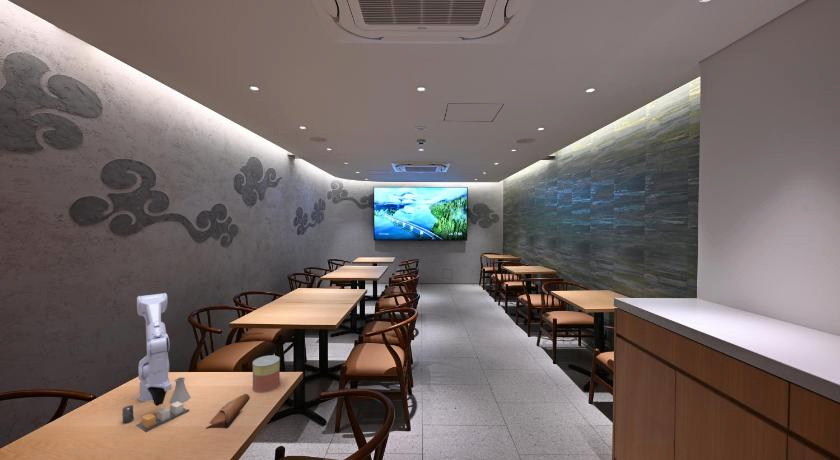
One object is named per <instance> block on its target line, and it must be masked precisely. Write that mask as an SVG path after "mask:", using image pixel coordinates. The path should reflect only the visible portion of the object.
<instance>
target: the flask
mask: <svg viewBox="0 0 840 460" xmlns="http://www.w3.org/2000/svg"><path fill="white" fill-rule="evenodd" d="M185 379H186V377H184V376H180V377H178V378H177V377H176V378H175V379H174V382H175V386H174V390H173V393H172V395H171V398H170V400H169V404H173V403H175V402H177V401H178V402H180V403H182V404H184V403H186V402H188V401H189V400H190V399H191V396H190V393H189V391H188V389H187V388H186V385H185Z"/></svg>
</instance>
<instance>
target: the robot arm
mask: <svg viewBox="0 0 840 460" xmlns="http://www.w3.org/2000/svg"><path fill="white" fill-rule="evenodd" d="M167 307H168V294H167V293H166V292H163V293H156V294H148V295H138V296H136V309H137V311H136V312H137V314H138V316H140V317H143V318H144V321H145V336H146V355H145V356H144V357H143V358H142V359H140V360H139V362H138V367H137V369H138V371H137V372H138V379H139V396H138V397H137V399H136V400H138V401H140V402H141V403H144V402H145V401H146V402H151V401H153V403H154V405H155V406H156V407H159V406H161V405H163V404H164V401H165V397H166V395H167V393H168V391H171V390H172V389H173V387H172V383H171V381H170V378H169V372H170V361H169V351H170V345H171V344H170V338H169V335H168V333H167V330H166V324H165V323H164V322H163V321H162V318H161V317H162V313H163V314H164V313H165V312H166V310H167Z"/></svg>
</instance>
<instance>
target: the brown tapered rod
mask: <svg viewBox="0 0 840 460" xmlns="http://www.w3.org/2000/svg"><path fill="white" fill-rule="evenodd" d="M250 399H251V398H250V395H249V394H248V393H243V394H242V395H239V396H238V397H235V398H234V399H233V400H231V401H229V402H227V403H226V404H225V405H224V406H222V407H221V408H220V409H219V412H217V413H216V415H215V416H214V417H213V418H212V419H211V420H210V421H209V424H210V425H208V426H207V427H206V429H227V428H229V426H231V424H232V422H233V421H234V419H235V418H236V417H237V416H238V414H239V413H240V412H241V411H242V409H243V408H244V406H245V405H246V404H247V403H248V402H249V400H250Z"/></svg>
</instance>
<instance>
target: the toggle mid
mask: <svg viewBox="0 0 840 460" xmlns="http://www.w3.org/2000/svg"><path fill="white" fill-rule="evenodd" d="M156 416H157V419H159V420H161V421H164V420H166V419H168V418H170V409H168V408H167V407H165V406H164V407H162V408H159V409H157V410H156Z"/></svg>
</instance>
